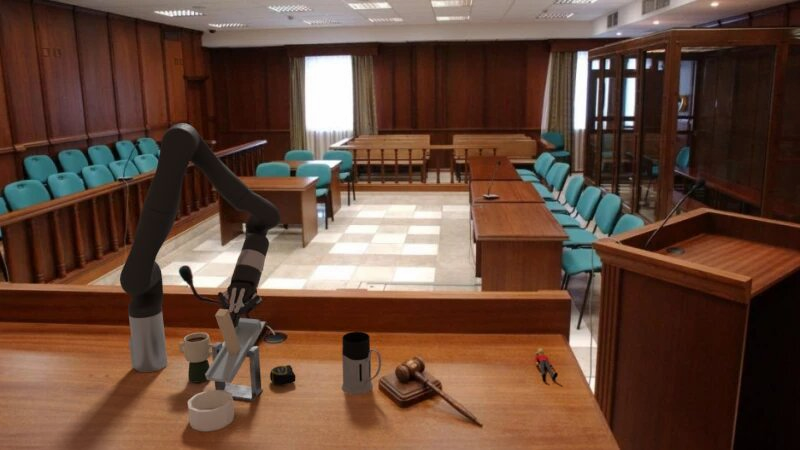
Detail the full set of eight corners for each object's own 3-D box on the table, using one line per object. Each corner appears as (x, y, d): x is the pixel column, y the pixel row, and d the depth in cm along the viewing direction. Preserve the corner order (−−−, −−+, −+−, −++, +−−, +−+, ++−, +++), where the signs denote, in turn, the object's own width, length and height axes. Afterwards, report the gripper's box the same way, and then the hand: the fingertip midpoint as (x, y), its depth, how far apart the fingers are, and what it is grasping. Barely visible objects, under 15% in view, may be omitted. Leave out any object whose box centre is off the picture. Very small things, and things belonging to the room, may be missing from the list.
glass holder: (358, 376, 184) (357, 328, 181) (392, 393, 175) (392, 342, 171) (335, 386, 178) (333, 337, 175) (368, 405, 169) (367, 353, 165)
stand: (212, 396, 174) (208, 348, 170) (224, 385, 179) (220, 339, 176) (254, 401, 171) (250, 353, 167) (264, 390, 176) (261, 344, 173)
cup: (180, 429, 158) (178, 409, 157) (205, 406, 169) (203, 387, 167) (219, 434, 155) (217, 414, 154) (241, 411, 166) (240, 392, 165)
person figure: (542, 368, 180) (534, 341, 197) (537, 379, 181) (530, 352, 198) (559, 373, 180) (550, 346, 197) (554, 385, 181) (545, 357, 198)
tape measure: (296, 385, 180) (295, 373, 179) (271, 389, 178) (271, 377, 177) (292, 374, 186) (292, 363, 185) (269, 378, 184) (268, 366, 183)
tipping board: (204, 381, 166) (187, 338, 157) (237, 327, 182) (223, 286, 173) (234, 385, 164) (219, 341, 155) (265, 330, 179) (253, 288, 171)
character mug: (223, 374, 186) (219, 333, 183) (212, 386, 179) (209, 343, 176) (188, 372, 188) (184, 331, 184) (176, 383, 181) (172, 341, 178)
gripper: (221, 261, 176) (202, 320, 167) (265, 264, 173) (248, 324, 164) (232, 273, 182) (214, 330, 174) (275, 276, 179) (258, 334, 170)
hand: (230, 327), depth 169 cm, fingers closed
